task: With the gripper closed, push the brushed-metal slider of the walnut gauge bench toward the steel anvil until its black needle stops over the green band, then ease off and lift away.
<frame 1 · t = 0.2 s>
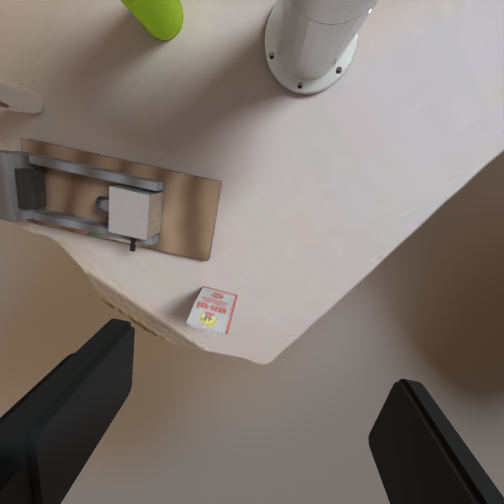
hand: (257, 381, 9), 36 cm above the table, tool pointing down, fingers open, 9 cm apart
soap dispenser: (162, 20, 36), on the table
slider: (127, 218, 41), point 4 cm above the table, slide at 0.0 cm
gauge bench: (115, 200, 44), on the table
milkshake: (32, 100, 40), on the table
tea bag: (218, 298, 49), on the table
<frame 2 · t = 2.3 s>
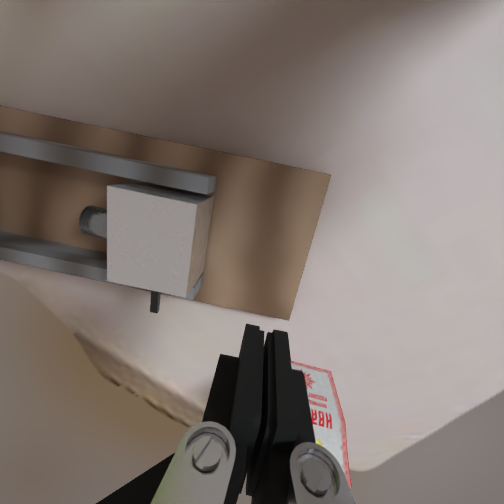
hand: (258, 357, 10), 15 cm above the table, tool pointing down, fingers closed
slider: (144, 250, 20), point 4 cm above the table, slide at 0.0 cm
gauge bench: (120, 211, 24), on the table
tea bag: (296, 374, 29), on the table
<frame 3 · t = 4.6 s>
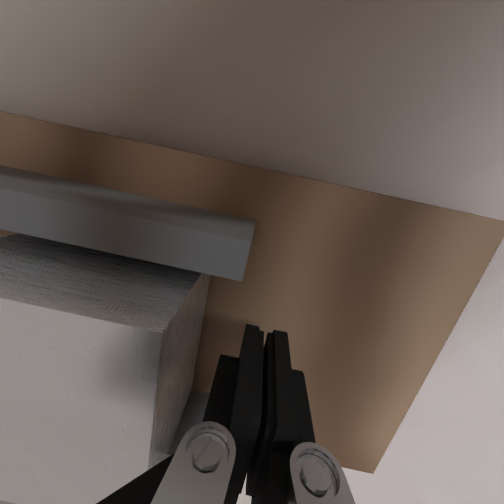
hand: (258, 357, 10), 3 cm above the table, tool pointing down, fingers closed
slider: (56, 378, 9), point 4 cm above the table, slide at 1.3 cm, touching gripper
gauge bench: (62, 274, 13), on the table
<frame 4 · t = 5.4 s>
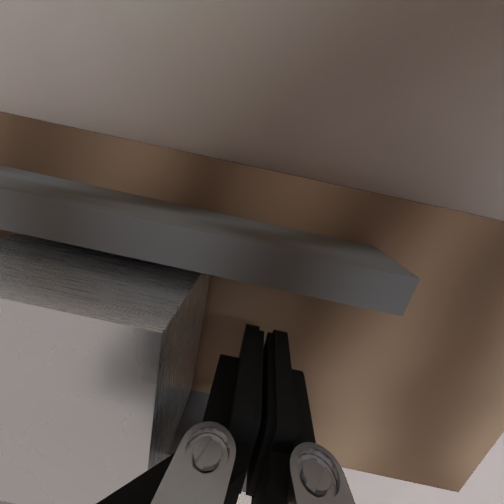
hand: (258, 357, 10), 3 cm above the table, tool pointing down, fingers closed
slider: (56, 379, 9), point 4 cm above the table, slide at 6.0 cm, touching gripper
gauge bench: (153, 294, 13), on the table
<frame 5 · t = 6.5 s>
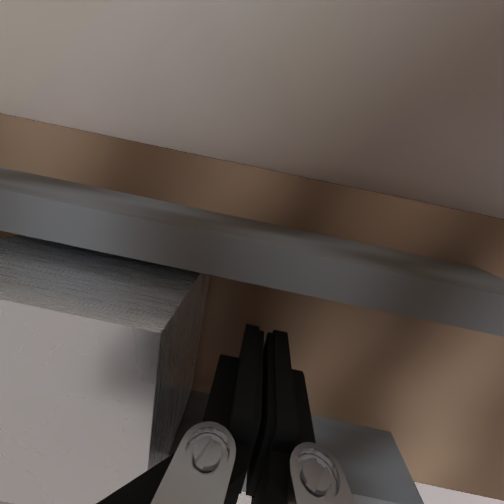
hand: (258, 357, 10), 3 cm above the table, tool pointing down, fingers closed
slider: (56, 379, 9), point 4 cm above the table, slide at 10.1 cm, touching gripper
gauge bench: (231, 311, 13), on the table
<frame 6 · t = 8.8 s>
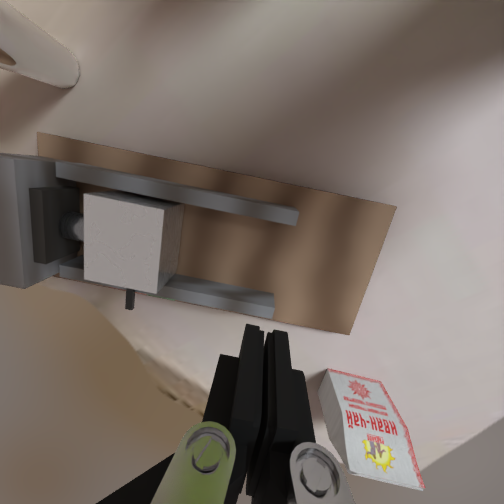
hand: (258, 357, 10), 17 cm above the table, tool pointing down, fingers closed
slider: (119, 251, 22), point 4 cm above the table, slide at 10.1 cm
gauge bench: (196, 236, 26), on the table
milkshake: (60, 64, 22), on the table
tea bag: (348, 385, 31), on the table
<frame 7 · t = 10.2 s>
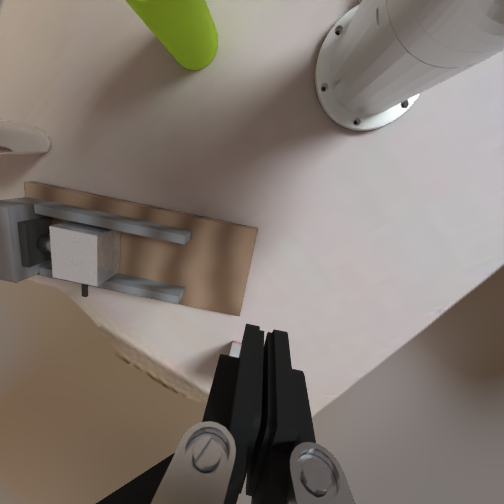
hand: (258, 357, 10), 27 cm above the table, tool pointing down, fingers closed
soap dispenser: (193, 46, 30), on the table
slider: (77, 259, 35), point 4 cm above the table, slide at 10.1 cm
gauge bench: (133, 248, 38), on the table
milkshake: (38, 138, 34), on the table
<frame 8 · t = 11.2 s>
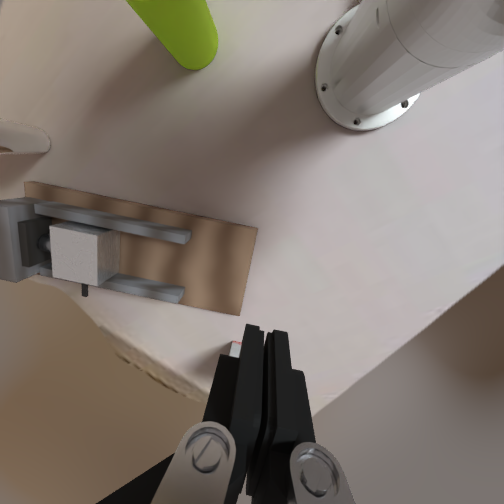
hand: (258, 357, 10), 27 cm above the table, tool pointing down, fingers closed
soap dispenser: (193, 46, 30), on the table
slider: (77, 259, 35), point 4 cm above the table, slide at 10.1 cm
gauge bench: (133, 247, 38), on the table
milkshake: (38, 138, 34), on the table
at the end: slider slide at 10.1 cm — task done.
